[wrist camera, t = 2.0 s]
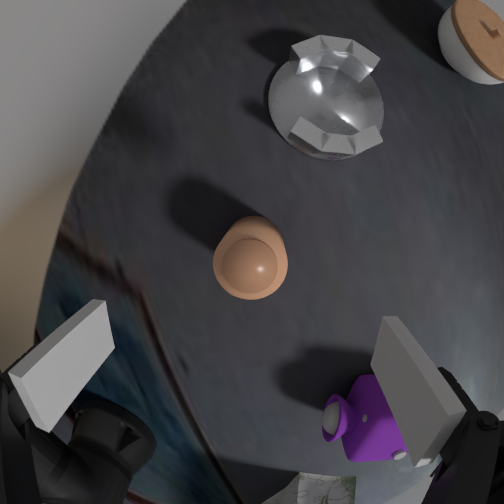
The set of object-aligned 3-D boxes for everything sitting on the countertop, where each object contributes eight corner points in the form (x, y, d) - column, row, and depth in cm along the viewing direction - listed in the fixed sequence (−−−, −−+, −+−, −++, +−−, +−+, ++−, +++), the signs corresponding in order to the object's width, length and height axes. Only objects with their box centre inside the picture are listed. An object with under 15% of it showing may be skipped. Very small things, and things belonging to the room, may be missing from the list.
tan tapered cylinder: (224, 271, 31) (212, 300, 24) (225, 214, 30) (211, 228, 22) (281, 273, 31) (285, 303, 24) (284, 216, 29) (290, 231, 22)
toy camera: (320, 371, 34) (333, 428, 24) (415, 361, 33) (445, 407, 24) (312, 424, 37) (319, 477, 27) (396, 414, 36) (415, 460, 26)
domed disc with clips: (266, 156, 28) (266, 152, 23) (269, 48, 25) (269, 27, 20) (381, 166, 27) (401, 165, 22) (379, 62, 24) (396, 46, 19)
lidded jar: (496, 91, 23) (541, 80, 14) (444, 93, 24) (492, 76, 15) (467, 22, 21) (504, 0, 11) (410, 17, 22) (445, -17, 13)
